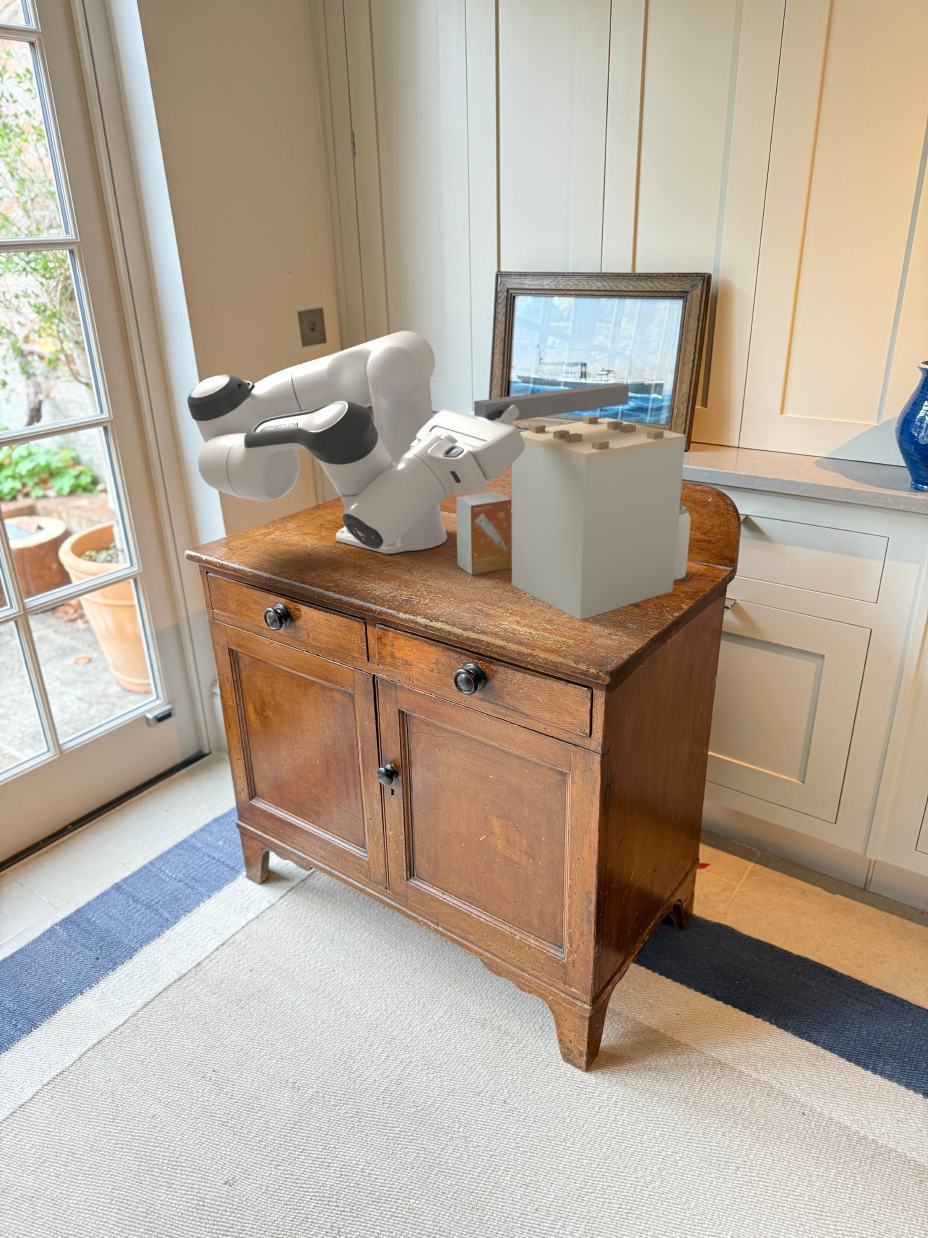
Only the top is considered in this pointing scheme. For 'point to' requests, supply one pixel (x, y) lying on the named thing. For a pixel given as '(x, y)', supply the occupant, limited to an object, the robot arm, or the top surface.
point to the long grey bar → (555, 401)
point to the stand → (596, 514)
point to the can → (682, 543)
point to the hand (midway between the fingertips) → (506, 406)
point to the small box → (484, 532)
